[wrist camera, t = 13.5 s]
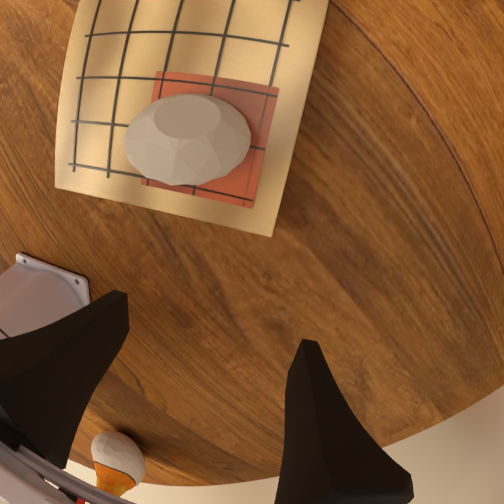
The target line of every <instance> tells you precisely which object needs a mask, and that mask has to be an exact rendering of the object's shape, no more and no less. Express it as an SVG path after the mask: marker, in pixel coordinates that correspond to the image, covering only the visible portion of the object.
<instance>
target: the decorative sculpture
mask: <svg viewBox="0 0 504 504" xmlns="http://www.w3.org/2000/svg"><path fill="white" fill-rule="evenodd" d="M91 449H92V456H93V462H94V466H95V470H96V475H97V488H99V489H101V490H103V491H106V492H108V493H110V494H113V495H115V496H117V497H120V496H121V495H122V494H124V493H125V492H126V491H128V490H130V489H132V488H133V487H135V486H137V485H138V484H139V483H140V482H141V481H142V480H143V478H144V475H145V471H146V467H145V460H144V458H143V455H142V452H141V450H140V449H139V448H138V446H137V445H136V443H135V442H134V441H133V440H131V439H130V438H129V437H128V436H126V435H124V434H122V433H120V432H117V431H105V432H101V433H100V434H98V435H97V436H96V437H95V438H94V440H93V442H92V447H91ZM58 490H60V491H61V492H63V493H64V494H65V495H66V496H67V497H68V498H69V499H71V500H72V501H73V502H75V503H76V504H85V501H84V500H82V499H80V498H78V497H76V496H74V495H72V494H70V493H68V492H67V491H65V490H63V489H61V488H59V489H58Z"/></svg>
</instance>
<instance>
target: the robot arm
mask: <svg viewBox="0 0 504 504" xmlns="http://www.w3.org/2000/svg"><path fill="white" fill-rule="evenodd" d="M16 260H17V263H16V264H14V265H13V266H12V267H10V268H9V269H8V270H7V271H5V272H4V273H3V274H1V275H0V499H2V500H3V501H4V502H5V503H7V504H76V503H75V502H73V501H72V500H71V499H69V498H68V497H67V496H66V495H65V494H64V493H63V492H61V491H60V490H58V489H56V488H55V487H53V486H52V485H50V484H49V483H47V482H46V481H45V480H44V479H46V480H47V481H49V482H51V483H53V484H54V485H56V486H58V487H59V488H61V489H63V490H65V491H67V492H68V493H70V494H72V495H74V496H76V497H78V498H80V499H82V500H84V501H86V502H88V503H90V504H135V503H133V502H130V501H128V500H125V499H122V498H120V497H117V496H115V495H113V494H110V493H108V492H106V491H103V490H101V489H99V488H97V487H95V486H92V485H90V484H88V483H86V482H84V481H82V480H80V479H78V478H76V477H74V476H72V475H71V474H69V473H67V472H65V471H63V470H62V469H64V468H66V464H67V460H68V457H69V453H70V450H71V446H72V443H73V440H74V437H75V434H76V431H77V428H78V426H79V423H80V421H81V418H82V416H83V413H84V411H85V409H86V407H87V404H88V402H89V400H90V398H91V396H92V394H93V392H94V390H95V388H96V387H97V385H98V383H99V382H100V380H101V379H102V377H103V376H104V374H105V372H106V371H107V369H108V368H109V366H110V365H111V363H112V362H113V360H114V358H115V357H116V355H117V354H118V352H119V351H120V349H121V347H122V345H123V343H124V341H125V339H126V336H127V334H128V332H129V317H128V299H127V293H124V292H121V291H117V290H113V291H111V292H109V293H107V294H106V295H104V296H102V297H100V298H99V299H97V300H95V301H93V302H92V303H90V297H89V289H88V282H87V280H86V278H84V277H82V276H80V275H77V274H74V273H71V272H68V271H66V270H63V269H60V268H58V267H55V266H52V265H50V264H47V263H45V262H42V261H39V260H37V259H34V258H32V257H29V256H27V255H24V254H22V253H18V254H16ZM413 498H414V493H413V483H412V479H411V474H410V473H408V472H407V471H406V470H405V469H403V468H402V467H401V466H400V465H399V464H397V463H396V462H395V461H394V460H393V459H392V458H391V457H390V456H389V455H387V454H386V452H385V451H383V450H382V448H381V447H380V446H379V445H378V444H377V443H376V442H375V441H374V440H373V438H372V437H371V436H370V435H369V434H368V433H367V431H366V430H365V429H364V428H363V426H362V425H361V424H360V422H359V421H358V419H357V418H356V416H355V415H354V414H353V412H352V410H351V409H350V407H349V406H348V404H347V402H346V400H345V399H344V397H343V395H342V393H341V392H340V390H339V388H338V386H337V384H336V382H335V380H334V378H333V376H332V374H331V371H330V369H329V367H328V365H327V363H326V360H325V358H324V355H323V353H322V351H321V348H320V346H319V344H318V342H317V341H313V340H307V339H302V341H301V343H300V345H299V348H298V350H297V353H296V355H295V357H294V360H293V362H292V364H291V366H290V369H289V371H288V377H287V384H286V392H285V438H284V451H283V458H282V465H281V471H280V477H279V483H278V488H277V493H276V499H275V503H274V504H408V503H409V502H410V501H411V500H412V499H413Z"/></svg>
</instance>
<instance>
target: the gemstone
mask: <svg viewBox="0 0 504 504" xmlns="http://www.w3.org/2000/svg"><path fill="white" fill-rule="evenodd" d="M250 144H251V132H250V130H249V127H248V125H247V122H246V120H245V118H244V116H243V115H242V114H241V113H240V112H238V111H237V110H236V109H235V108H234V107H233V106H232V105H231V104H229V103H227V102H225V101H223V100H221V99H219V98H216V97H212V96H208V95H204V94H176V95H172V96H168V97H165V98H161V99H159V100H157V101H155V102H153V103H151V104H149V105H147V106H146V107H145V108H143V109H142V110H141V111H140V112H139V113H138V114H137V115H136V116H135V117H133V119H132V121H131V123H130V125H129V127H128V129H127V131H126V133H125V135H124V148H125V153H126V155H127V158H128V160H129V162H130V164H131V165H132V166H134V167H135V168H136V169H137V170H138V171H139V172H141V173H142V174H143V175H144V176H145V177H146V178H149V179H154V180H158V181H161V182H163V183H166V184H168V185H170V186H173V185H181V184H190V185H201V184H203V183H205V182H208V181H210V180H212V179H216V178H220V177H224V176H226V175H227V174H228V173H229V172H230V171H231V170H232V169H234V168H235V167H236V166H237V165H239V164H240V163H241V162H243V160H244V158H245V156H246V154H247V152H248V150H249V147H250Z"/></svg>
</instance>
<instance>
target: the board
mask: <svg viewBox="0 0 504 504" xmlns="http://www.w3.org/2000/svg"><path fill="white" fill-rule="evenodd" d="M328 3H329V0H80V2H79V5H78V8H77V12H76V16H75V19H74V23H73V27H72V31H71V35H70V40H69V44H68V49H67V54H66V59H65V64H64V70H63V76H62V83H61V90H60V98H59V106H58V116H57V128H56V145H55V188H58V189H63V190H68V191H72V192H77V193H82V194H86V195H91V196H96V197H100V198H105V199H109V200H114V201H118V202H123V203H127V204H132V205H136V206H141V207H145V208H149V209H154V210H158V211H162V212H167V213H171V214H175V215H180V216H184V217H188V218H193V219H197V220H201V221H205V222H209V223H214V224H218V225H222V226H226V227H230V228H234V229H239V230H243V231H247V232H251V233H255V234H259V235H263V236H267V237H272V234H273V230H274V226H275V222H276V219H277V215H278V211H279V207H280V203H281V199H282V195H283V191H284V187H285V183H286V179H287V175H288V171H289V167H290V163H291V159H292V155H293V151H294V147H295V143H296V139H297V135H298V131H299V127H300V123H301V119H302V115H303V111H304V106H305V102H306V98H307V94H308V90H309V86H310V81H311V77H312V73H313V69H314V64H315V60H316V56H317V52H318V47H319V43H320V39H321V34H322V30H323V26H324V21H325V17H326V12H327V8H328ZM176 94H204V95H208V96H212V97H216V98H219V99H221V100H223V101H225V102H227V103H229V104H231V105H232V106H233V107H234V108H235V109H236V110H237V111H238V112H240V113H241V114H242V115H243V116H244V118H245V120H246V122H247V125H248V127H249V130H250V132H251V144H250V147H249V150H248V152H247V154H246V156H245V158H244V160H243V162H241V163H240V164H239V165H237V166H236V167H235V168H234V169H232V170H231V171H230V172H229V173H228V174H227V175H226V176H224V177H220V178H216V179H212V180H210V181H208V182H205V183H203V184H201V185H190V184H181V185H173V186H170V185H168V184H166V183H163V182H161V181H158V180H154V179H149V178H146V177H145V176H144V175H143V174H142V173H141V172H139V171H138V170H137V169H136V168H135V167H134V166H132V165H131V164H130V162H129V160H128V158H127V155H126V153H125V148H124V135H125V133H126V131H127V129H128V127H129V125H130V123H131V121H132V119H133V117H135V116H136V115H137V114H138V113H139V112H140V111H141V110H142V109H143V108H145V107H146V106H147V105H149V104H151V103H153V102H155V101H157V100H159V99H161V98H165V97H168V96H172V95H176Z"/></svg>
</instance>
